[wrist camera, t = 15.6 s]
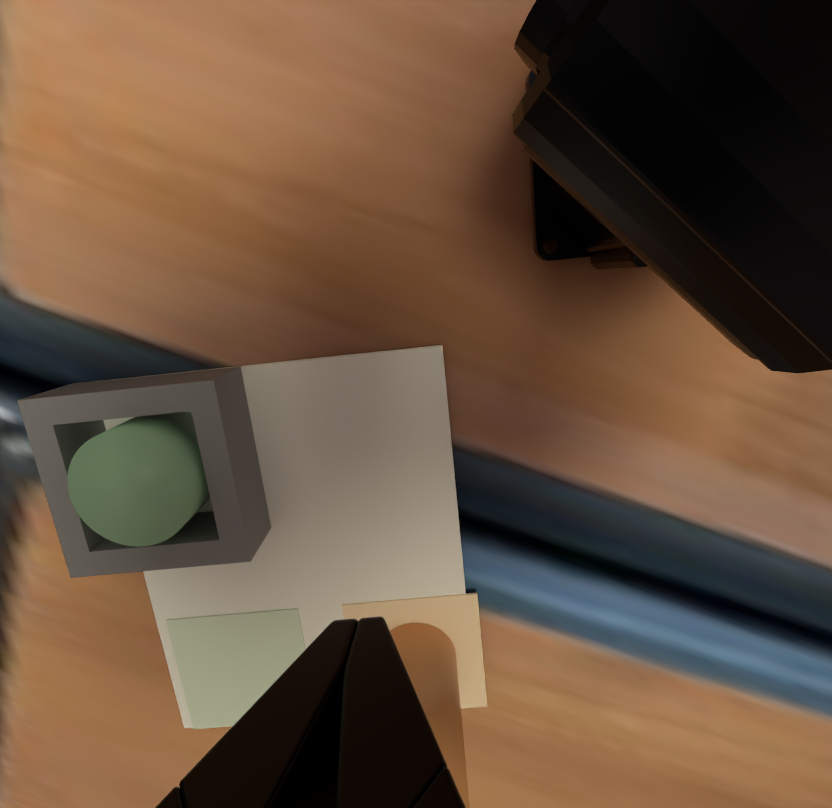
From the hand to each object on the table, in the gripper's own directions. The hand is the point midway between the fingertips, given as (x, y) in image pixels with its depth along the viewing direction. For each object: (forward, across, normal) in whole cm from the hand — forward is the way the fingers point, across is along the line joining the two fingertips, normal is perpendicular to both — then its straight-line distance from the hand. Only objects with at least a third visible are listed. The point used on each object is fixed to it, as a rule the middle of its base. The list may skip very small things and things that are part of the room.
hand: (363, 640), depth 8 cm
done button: (+12, +9, +1) cm, 16 cm away
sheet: (+13, +5, +6) cm, 15 cm away
